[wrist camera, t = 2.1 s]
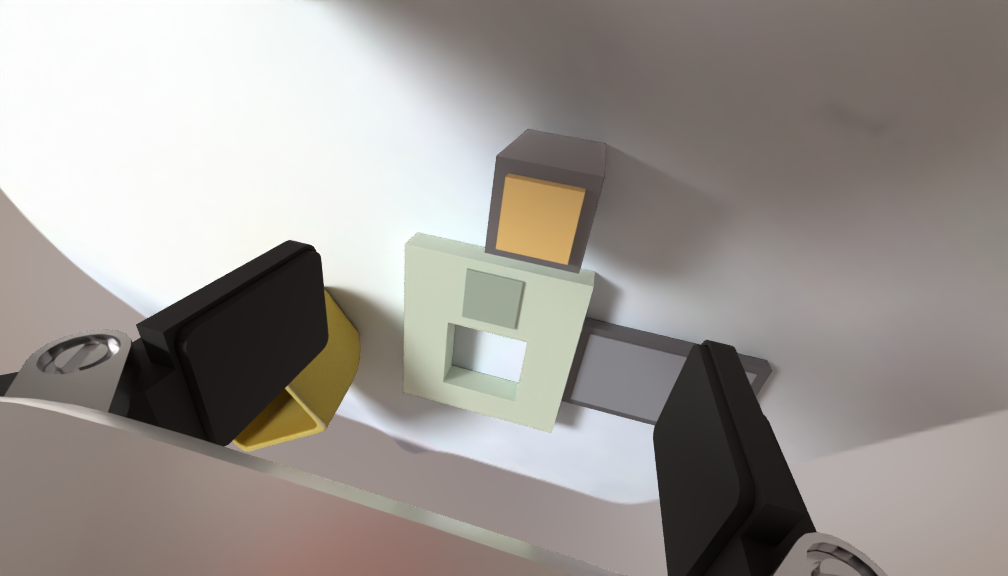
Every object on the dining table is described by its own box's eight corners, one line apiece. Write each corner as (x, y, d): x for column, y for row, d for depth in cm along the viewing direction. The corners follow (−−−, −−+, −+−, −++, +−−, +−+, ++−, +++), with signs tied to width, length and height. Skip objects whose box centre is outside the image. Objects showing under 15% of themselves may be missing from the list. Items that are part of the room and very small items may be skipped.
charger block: (527, 129, 23) (493, 158, 16) (606, 143, 22) (604, 180, 16) (515, 204, 25) (481, 258, 18) (587, 218, 25) (578, 280, 18)
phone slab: (582, 316, 28) (581, 325, 27) (766, 360, 27) (772, 371, 26) (561, 391, 32) (559, 401, 31) (722, 433, 30) (726, 445, 29)
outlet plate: (417, 232, 28) (403, 245, 26) (594, 271, 26) (593, 288, 24) (413, 375, 34) (402, 394, 32) (554, 413, 33) (551, 435, 31)
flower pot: (392, 347, 33) (327, 433, 26) (319, 372, 37) (242, 455, 29) (326, 254, 30) (230, 321, 23) (253, 292, 34) (149, 360, 26)
